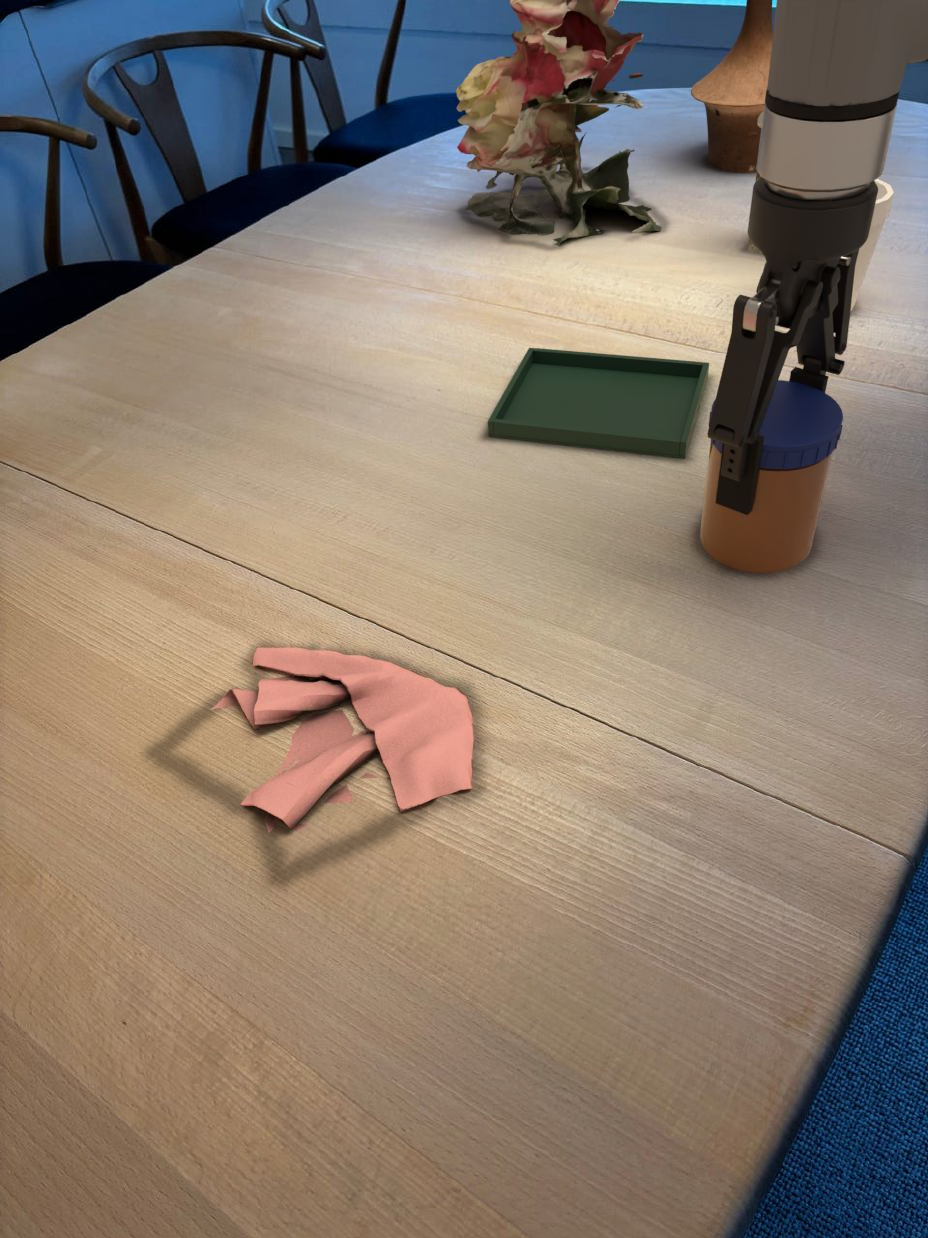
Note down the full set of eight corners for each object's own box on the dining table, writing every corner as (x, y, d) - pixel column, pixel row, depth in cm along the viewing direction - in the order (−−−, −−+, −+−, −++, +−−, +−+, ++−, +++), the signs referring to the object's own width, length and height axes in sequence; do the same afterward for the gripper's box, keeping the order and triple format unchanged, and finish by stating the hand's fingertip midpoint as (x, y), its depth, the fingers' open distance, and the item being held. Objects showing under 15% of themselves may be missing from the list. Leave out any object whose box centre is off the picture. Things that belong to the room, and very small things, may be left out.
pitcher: (732, 136, 153) (755, -77, 134) (826, 155, 143) (865, -71, 124) (663, 167, 145) (676, -54, 126) (757, 190, 135) (787, -47, 116)
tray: (707, 379, 98) (709, 362, 97) (684, 460, 88) (686, 442, 87) (529, 364, 104) (529, 347, 102) (488, 438, 93) (487, 421, 92)
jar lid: (747, 389, 77) (750, 367, 76) (860, 425, 72) (866, 401, 71) (684, 443, 72) (686, 420, 71) (801, 485, 67) (805, 461, 66)
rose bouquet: (588, 167, 148) (590, -68, 127) (684, 229, 127) (705, -39, 107) (433, 201, 142) (410, -39, 122) (508, 271, 122) (495, -3, 101)
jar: (814, 515, 81) (840, 394, 73) (807, 582, 75) (835, 458, 67) (707, 501, 83) (721, 383, 75) (692, 566, 77) (705, 445, 69)
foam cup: (773, 322, 106) (792, 203, 97) (785, 287, 112) (803, 172, 103) (863, 330, 103) (890, 209, 94) (870, 294, 109) (896, 176, 100)
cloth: (515, 796, 62) (514, 774, 60) (183, 912, 58) (171, 891, 56) (421, 605, 76) (417, 582, 75) (149, 686, 72) (139, 664, 70)
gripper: (837, 120, 67) (787, 400, 82) (669, 226, 55) (648, 529, 71) (945, 135, 63) (872, 426, 78) (789, 252, 52) (739, 566, 67)
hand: (765, 475), depth 74 cm, fingers closed on jar lid, 9 cm apart
